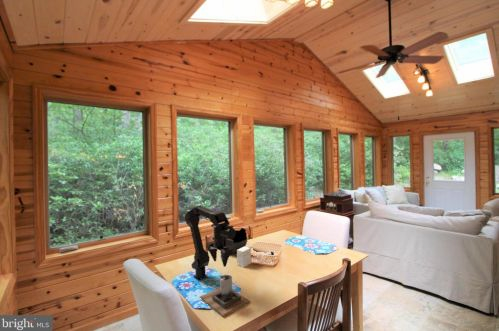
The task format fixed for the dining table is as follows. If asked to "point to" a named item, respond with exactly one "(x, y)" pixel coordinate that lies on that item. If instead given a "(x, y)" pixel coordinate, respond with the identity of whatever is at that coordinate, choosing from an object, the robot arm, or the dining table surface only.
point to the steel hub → (226, 288)
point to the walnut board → (219, 305)
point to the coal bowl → (239, 240)
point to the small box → (243, 256)
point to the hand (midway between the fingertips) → (219, 263)
